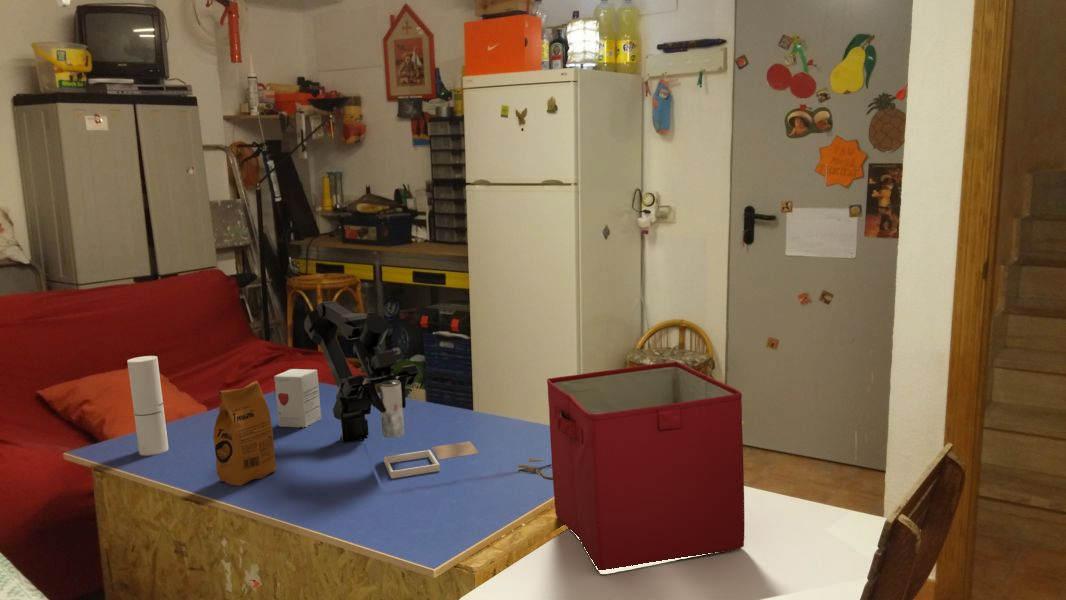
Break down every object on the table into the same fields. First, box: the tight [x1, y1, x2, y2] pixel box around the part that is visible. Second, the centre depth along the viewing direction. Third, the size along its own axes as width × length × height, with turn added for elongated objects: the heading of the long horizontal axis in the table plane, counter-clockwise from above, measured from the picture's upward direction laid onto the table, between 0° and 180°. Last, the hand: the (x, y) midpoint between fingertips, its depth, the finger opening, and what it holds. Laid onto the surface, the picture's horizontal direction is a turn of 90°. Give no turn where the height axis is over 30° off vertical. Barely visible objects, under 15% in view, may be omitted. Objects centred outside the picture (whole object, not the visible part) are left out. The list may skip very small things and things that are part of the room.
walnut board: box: [430, 440, 480, 460], centre depth 204 cm, size 10×10×1 cm
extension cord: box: [517, 458, 553, 480], centre depth 190 cm, size 12×16×2 cm
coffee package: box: [213, 380, 277, 487], centre depth 195 cm, size 10×12×22 cm
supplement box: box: [274, 368, 322, 429], centre depth 237 cm, size 9×9×15 cm
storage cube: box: [546, 361, 746, 570], centre depth 153 cm, size 32×28×29 cm
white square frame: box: [383, 449, 441, 479], centre depth 194 cm, size 11×11×2 cm
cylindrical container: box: [126, 355, 170, 456], centre depth 217 cm, size 7×7×25 cm
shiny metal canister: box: [378, 380, 405, 439], centre depth 200 cm, size 5×5×13 cm
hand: (394, 409), depth 199 cm, fingers closed on shiny metal canister, 5 cm apart
